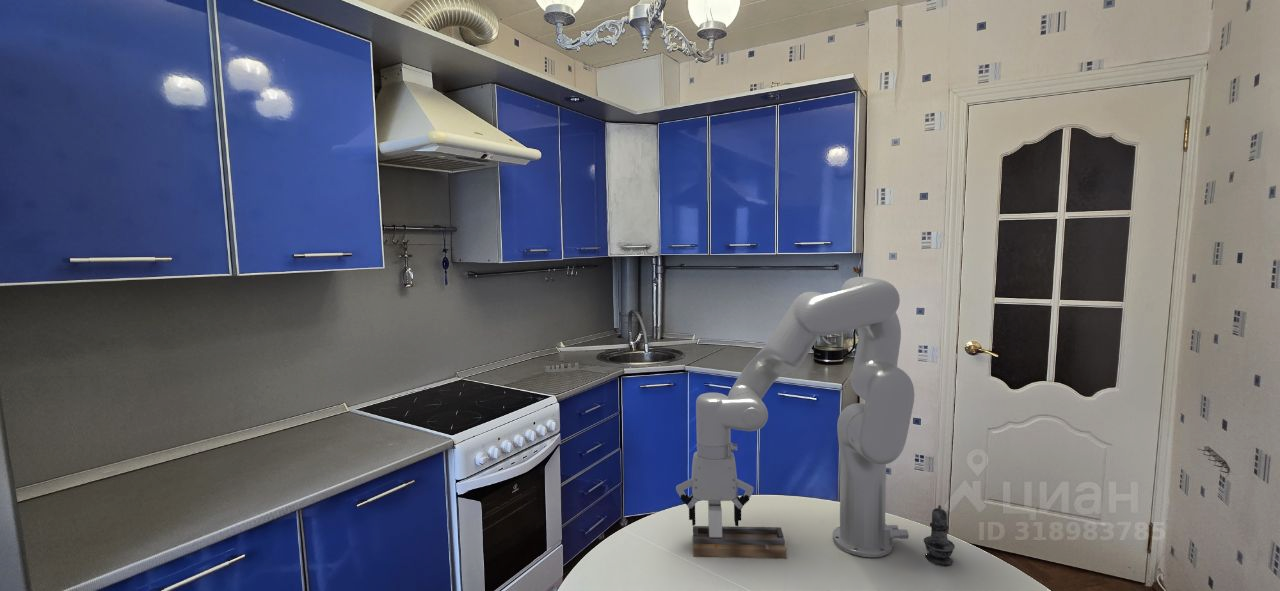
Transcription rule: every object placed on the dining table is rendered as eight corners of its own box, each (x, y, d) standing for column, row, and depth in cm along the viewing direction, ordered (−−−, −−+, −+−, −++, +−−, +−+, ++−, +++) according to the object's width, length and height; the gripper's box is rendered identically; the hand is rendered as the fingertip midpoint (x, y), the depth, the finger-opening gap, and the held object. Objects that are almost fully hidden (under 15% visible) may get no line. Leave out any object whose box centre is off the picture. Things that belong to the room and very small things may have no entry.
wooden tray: (779, 536, 129) (779, 521, 129) (786, 558, 120) (786, 542, 120) (693, 535, 131) (692, 520, 131) (693, 556, 122) (693, 540, 122)
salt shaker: (944, 551, 121) (945, 498, 120) (960, 566, 116) (961, 511, 114) (917, 552, 121) (918, 499, 120) (932, 567, 115) (933, 512, 114)
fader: (721, 530, 128) (720, 499, 128) (722, 543, 123) (722, 510, 122) (708, 529, 129) (707, 498, 128) (709, 542, 123) (708, 510, 123)
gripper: (751, 443, 127) (751, 515, 128) (675, 443, 128) (676, 514, 130) (755, 455, 119) (755, 532, 121) (674, 455, 121) (676, 530, 123)
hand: (715, 522), depth 126 cm, fingers open, 9 cm apart
